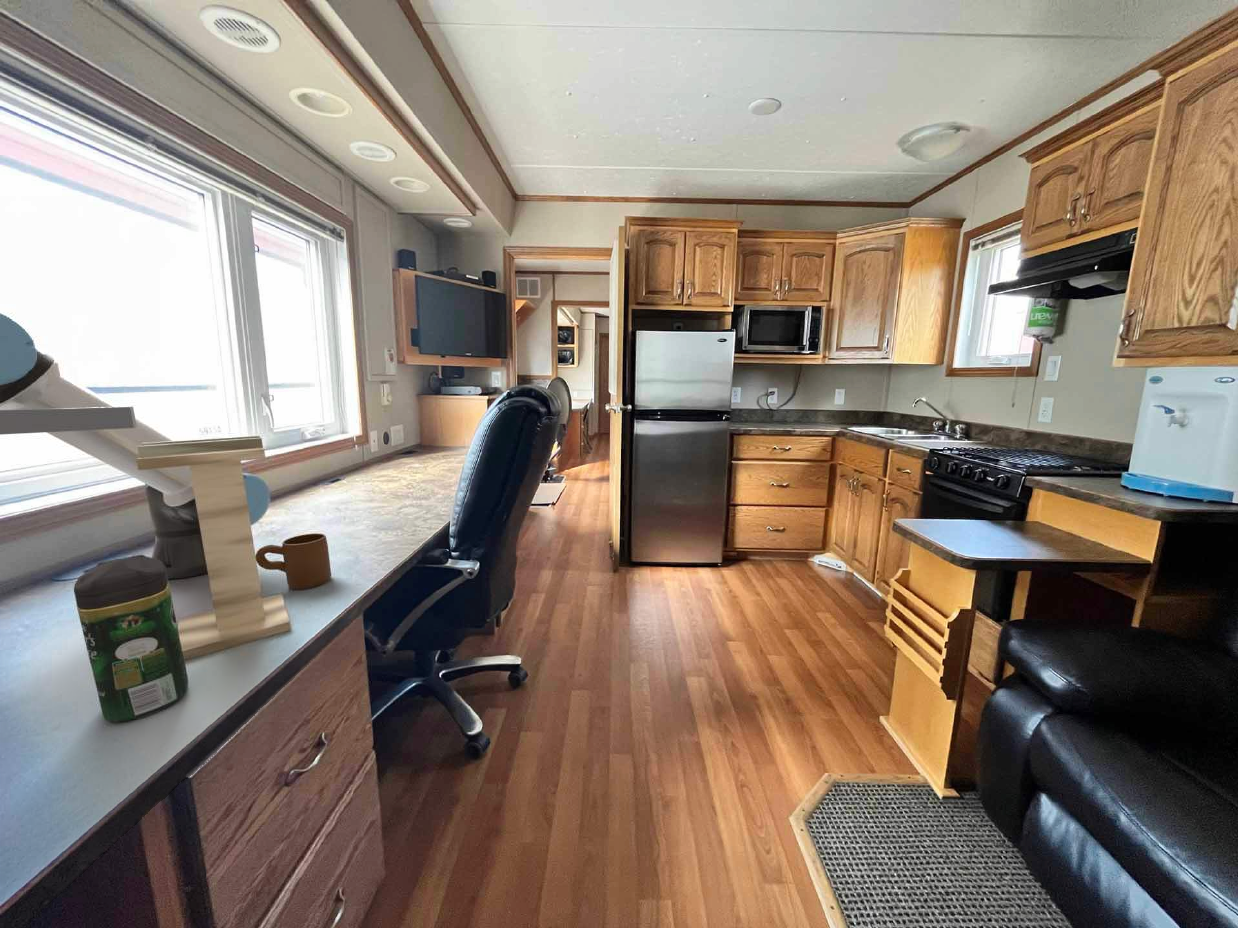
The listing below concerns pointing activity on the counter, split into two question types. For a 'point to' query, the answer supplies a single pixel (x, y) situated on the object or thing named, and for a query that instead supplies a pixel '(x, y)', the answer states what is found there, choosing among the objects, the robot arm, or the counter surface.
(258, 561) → the mug
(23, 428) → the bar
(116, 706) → the coffee jar
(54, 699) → the counter surface
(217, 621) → the stand
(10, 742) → the counter surface
